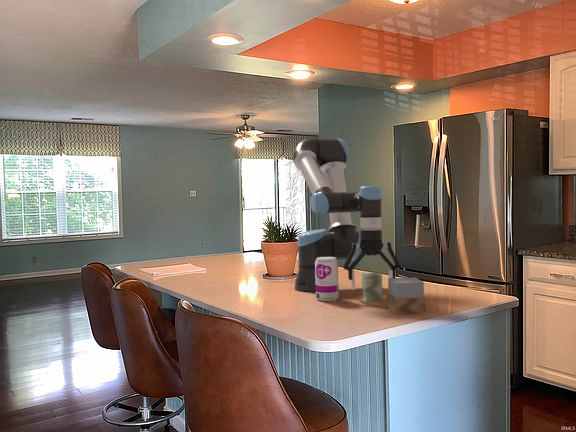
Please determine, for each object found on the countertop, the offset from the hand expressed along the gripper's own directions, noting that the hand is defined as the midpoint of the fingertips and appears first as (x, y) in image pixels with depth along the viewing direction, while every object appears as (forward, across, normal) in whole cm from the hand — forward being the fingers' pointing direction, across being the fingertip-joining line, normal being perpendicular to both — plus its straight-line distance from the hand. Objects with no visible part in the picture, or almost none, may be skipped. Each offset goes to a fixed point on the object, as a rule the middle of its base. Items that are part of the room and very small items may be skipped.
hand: (372, 288), depth 186 cm
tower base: (+4, +7, -19) cm, 21 cm away
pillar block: (+4, 0, 0) cm, 4 cm away
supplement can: (+4, -16, +2) cm, 17 cm away
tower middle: (-1, +7, -19) cm, 20 cm away
